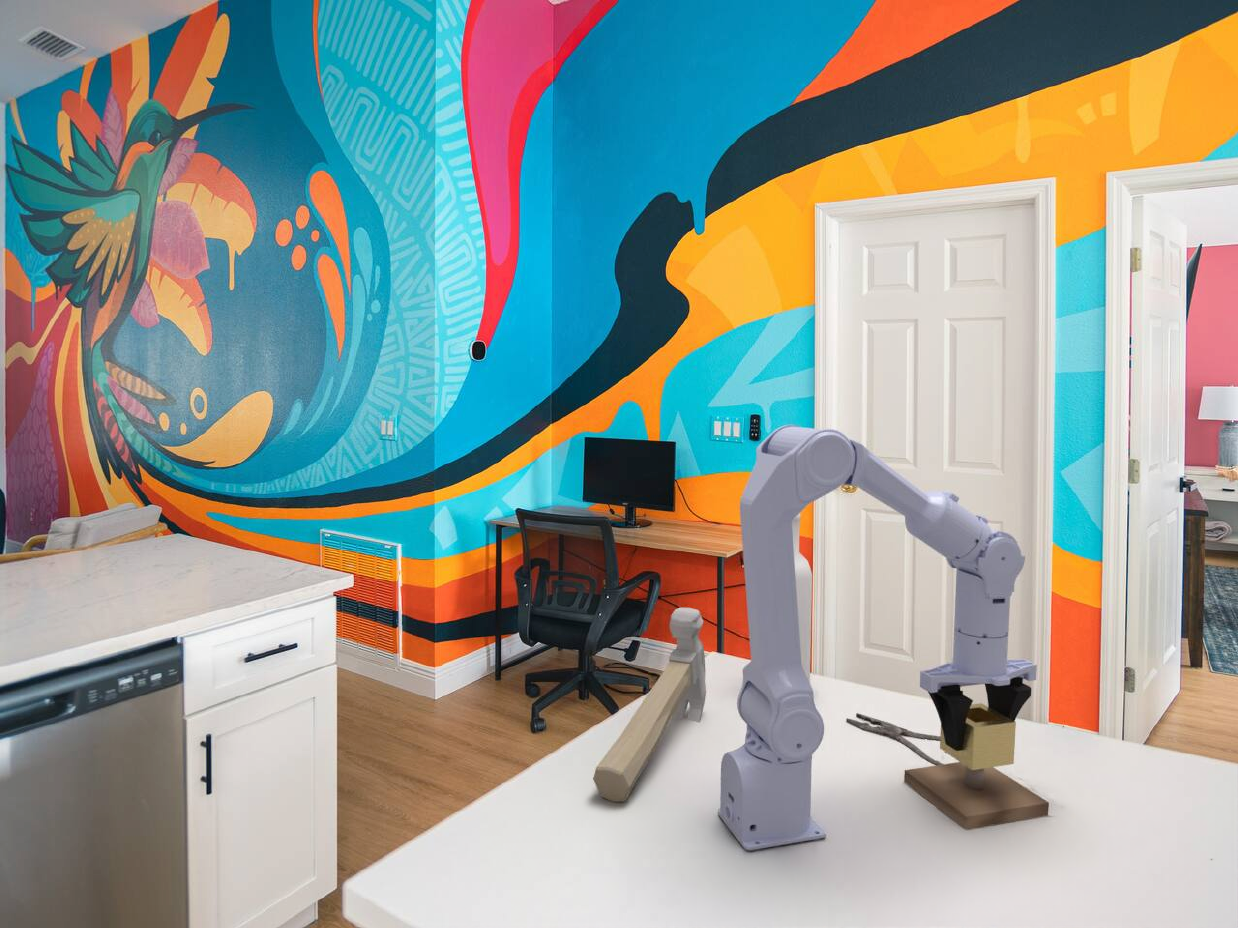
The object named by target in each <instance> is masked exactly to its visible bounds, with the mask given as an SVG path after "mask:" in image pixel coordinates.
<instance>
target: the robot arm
mask: <svg viewBox="0 0 1238 928" xmlns="http://www.w3.org/2000/svg"><path fill="white" fill-rule="evenodd" d="M843 485H844V486H849V487H857V488H858V489H860V490H861V491H863V492H864V493H866V494H868V495H869V496H871V497H873V498H875V499H876V500H878V501H880V502H881V503H883V504H884V505H886V506H888V507H890V508H891V509H892V510H894V511H896V512H897V513H899V514H900V515H902V516H904V520H905V521H904V522H905V523H904V525H905V528H906V530H907V532H908V534H911V535H912V536H913V537H914V538H916V539H918V540H919V541H921V542H922V543H923V544H925V545H927V546H928V547H929V548H930V549H933V550H934V551H936V552H937V553H938V554H940V555H941V556H943V557H944V558H946V562H947V564H948V566H949V567H950V568H951V569H956V571H955V576H956V577H955V600H954V621H953V623H954V625H953V641H952V642H953V643H952V661H949V662H947V663H945V664H942V665H939V666H936V667H932V668H928V669H925V670H920V671H919V687H920V688H921V689H923V690H924V691H926V692H927V693H928V694H929V697H930V699H931V700H932V703H933V704H934V707H935V709H936V712H937V715H938V718H939V721H940V726H941V725H942V729H943V734H944V738H945V744H946V745H948V746H949V747H951V748H952V749H954V750H955V751H961V750H962V747H963V743H964V733H965V723H966V718H967V715H968V712H969V709H970V706H971V704H973V702H974V700H973V699H972V698H971V697H968V696H967V695H965V694H964V691H963V690H961V687H962V688H963V687H968V686H969V687H971V686H978V685H984V687H985V691H986V697H987V705H988V706H987V707H989V708H991V709H993V710H995V711H997V712H998V713H1000V714H1002V715H1004V716H1006V717H1008V718H1009V719H1011V720H1013V721H1015V722H1016V719H1017V716H1018V715H1019V713H1020V711H1021V710H1022V708H1023V707H1024V705H1025V704H1026V702H1027V701H1028V700H1029V699H1030V698H1031V697H1032V687H1031V686H1030V685H1028V684H1026V683H1023V681H1024V680H1026V681H1029V682H1033V681H1037V670H1038V669H1037V668H1038V667H1037V666H1038V665H1037V664H1036V663H1034V662H1032V661H1029V660H1027V659H1025V658H1024V659H1021V658H1020V659H1008V649H1009V648H1008V647H1009V630H1010V628H1009V626H1010V605H1011V597H1012V594H1013V593H1014V592H1015V583H1016V580H1017V577H1018V576H1019V575H1020V574H1021V571H1022V570H1023V568H1024V565H1025V562H1026V555H1023V554H1022V551H1021V548H1020V545H1019V544H1018V542H1017V540H1016V539H1015V537H1014V536H1013V535H1011V534H1009V533H1007V532H1004V531H1001V530H996V529H993V528H991V527H990V526H989V524H988V523H989V519H988V518H986V517H985V516H983V515H980V514H973V513H972V512H970V510H968V509H966V508H965V507H964V506H963V505H961V504H960V503H958V502H959V500H960V497H959V496H958V495H957V494H955V493H953V492H951V491H945V490H944V491H943V492H942V491H940V490H930V491H927V492H923V491H922V490H920V489H919V488H918V487H917V486H915V485H914V484H912V483H911V482H910V481H909V480H907V479H906V478H905V477H904V476H902V475H901V474H900V473H898V472H897V471H896V470H894V469H893V468H892V467H890V466H889V465H888V464H887V463H886V462H884V461H883V460H881V458H880V457H878V456H877V455H875V454H873V452H871V451H870V450H869V449H868V448H867V447H866V446H865V445H864V444H862V443H861V442H858V441H856V440H854V439H851V438H850V439H849V437H847V436H846V435H845V434H844V433H843V432H841V431H839V430H838V429H833V428H812V427H811V428H810V427H802V426H799V425H796V424H786V425H782V426H780V427H778V428H776V429H774V431H772V432H771V433H770V434H769V435H768V436H767V437H766V438H765V439H764V440H763V441H762V442H761V443H760V444H758V446H757V447H756V461H755V463H754V466H753V469H752V470H751V473H750V476H749V478H748V480H747V483H746V484H745V487H744V490H743V492H742V495H741V497H740V500H739V501H740V502H739V515H740V516H739V517H740V519H739V520H740V529H741V542H742V543H741V545H742V555H743V569H744V571H743V572H744V580H745V583H744V585H745V595H746V607H747V611H746V612H747V623H748V637H749V649H750V662H748V663H747V664H746V665H745V666H744V667H743V668H742V684H741V688H740V690H739V693H738V695H737V702H736V707H737V711H738V714H739V717H740V718H741V720H743V722H744V723H745V724H746V733H745V739H744V743H743V744H742V745H741V746H739V747H738V748H736V749H734V750H731V751H728V752H726V753H724V754H723V755H722V759H721V764H720V804H719V805H720V807H719V808H718V809H717V814H718V816H719V817H720V818H721V819H722V822H724V823H725V825H726V826H727V828H728V829H729V830H730V831H731V833H732V834H733V835H734V836H735V838H736V840H737V841H738V842H739V843H740V844H741V846H742V847H743V849H745V851H754V850H760V849H765V848H771V847H777V846H783V845H790V844H794V843H795V844H796V843H801V842H805V841H806V842H807V841H812V840H819V839H824V838H826V836H827V832H826V830H825V829H824V828H822V826H821V825H820V824H819V823H818V822H817V821H816V820H814V818H813V817H812V816H811V802H812V801H811V800H812V767H813V766H812V763H813V762H812V761H813V754H815V752H816V751H817V750H818V749H819V748H820V746H821V743H822V741H823V739H824V735H825V723H824V720H823V717H822V715H821V714H820V711H819V710H818V708H817V707H816V704H815V698H814V697H815V695H814V691H813V690H814V689H813V688H812V685H811V681H810V682H809V680H808V678H807V676H806V674H805V672H804V669H803V667H802V664H801V650H800V636H799V621H798V606H797V591H796V577H795V562H794V547H793V532H792V521H793V519H794V518H795V517H796V516H797V515H798V514H799V513H800V514H801V512H802V511H803V510H804V509H805V508H806V507H807V506H808V505H810V504H812V503H814V502H815V501H817V500H819V499H821V498H822V497H825V496H826V495H828V494H829V493H832V492H833V491H835V490H837V489H838V488H840V487H841V486H843Z"/></svg>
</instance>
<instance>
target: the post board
mask: <svg viewBox="0 0 1238 928" xmlns="http://www.w3.org/2000/svg"><path fill="white" fill-rule="evenodd" d="M903 782H904V783H905V784H906V785H908V786H909V787H910V788H912V789H913V790H914V791H915V792H917V793H918V794H919V795H920V796H922V797H923V798H924V799H926V800H927V801H928V802H929V803H931V804H932V805H933V806H934V807H936V808H937V809H939V810H940V811H941V812H942V813H944V814H945V815H946V816H947V817H949V818H950V819H952V820H953V821H954V822H956V823H957V824H958V825H959V826H961V827H962V828H963V829H964V830H966V831H968V830H973V829H977V828H984V827H989V826H990V827H991V826H994V825H1000V824H1005V823H1011V822H1017V821H1023V819H1024V820H1027V819H1028V820H1029V819H1034V818H1040V817H1046V816H1049V808H1050V807H1049V806H1050V805H1049V804H1050V802H1049V801H1047V800H1046V799H1044V798H1043V797H1041V796H1040V795H1038V794H1037V793H1035V792H1033V791H1032V790H1030V789H1029V788H1027V787H1025V786H1024V785H1022V784H1020V783H1019V782H1017V781H1016V780H1015V779H1013V778H1011V777H1009V776H1008V775H1007V774H1004V772H1001V771H1000V770H998V769H997V768H996V767H990V768H983V769H977V770H971V769H970V768H968V767H967V766H965V765H964V764H962V763H961V762H959V761H957V762H951V763H943V765H930V766H924V767H918V768H912V769H911V768H910V769H905V770H904V781H903Z"/></svg>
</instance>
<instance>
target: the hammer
mask: <svg viewBox="0 0 1238 928" xmlns="http://www.w3.org/2000/svg"><path fill="white" fill-rule="evenodd" d="M703 625H704V619H703V618H702V615H701V612H700V610H699V609H695V608H692V607H679V608H675V610H673V612H672V614H671V615H670V622H669V630H670V632H671V638H674V639H676V647H675V649H673V650H672V651H671V653H670V654H669V656H668V659H669V662H668V663H667V664H666V667H665V669H664V670H663V672H662V673H661V675H660V676H659V677H658V679H657V680H656V682H655V683H654V685H653V686H652V688H651V689H650V691H649V692H648V693H647V694H646V697H645V698H643V700H642V702H641V704H640V705H639V707H638V708H637V710H636V711H635V712H634V714H633V716H632V717H631V719H630V720H629V722H628V723H627V725H626V726H625V728H624V729H623V730H622V732H621V733H620V735H619V736H618V737H617V739H616V741H615V742H614V743H613V745H611V747H610V748H609V750H608V751H607V753H606V754H605V755H604V756H603V757H602V759H601V760H600V762H599V763H598V764H597V765H596V767H595V771H594V774H593V777H592V780H593V783H594V784H595V787H596V789H597V792H598V793H599V796H600V797H603V798H604V799H606V800H607V801H610V802H614V803H620V802H621V803H622V802H626V801H627V799H628V797H630V796H629V795H630V794H631V792H632V790H633V788H634V787H635V785H636V783H637V781H638V780H639V777H640V776H641V774H642V772H643V770H644V769H645V767H646V765H647V763H648V761H650V759H651V757H652V756H653V753H654V752H655V750H656V749H657V746H658V744H659V742H660V740H661V738H662V737H663V734H664V733H665V731H666V729H667V726H668V725H669V723H670V720H672V718H675V719H679V720H683V719H684V718H685V715H686V714H685V713H686V710H687V708H688V706H689V708H688V716H687V721H690V722H695V723H700V722H701V719H702V715H703V711H704V708H705V704H706V698H707V697H706V695H707V686H706V685H707V684H706V661H705V648H704V647H705V646H704V643H703V642H702V640H701V639H700V637H699V633H700V631H701V630H702V627H703Z"/></svg>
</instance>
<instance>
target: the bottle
mask: <svg viewBox="0 0 1238 928" xmlns="http://www.w3.org/2000/svg"><path fill="white" fill-rule="evenodd" d="M801 517H802V515H801V512H800V513H799V514H798V515H797V516H796V517H795V518H794V519H793V521H792V532H793V547H794V562H795V577H796V591H797V606H798V621H799V636H800V650H801V664H802V667H803V669H804V672H805V674H806V676H807V678H808V680H809V682H810V683H811V650H812V649H811V647H812V645H811V642H812V610H813V609H812V605H813V603H812V601H813V573H812V570H811V566H810V564H809V560H807V558H805V557H804V555H802V553H801V552H800V527H801V526H800V523H801V522H800V521H801V519H802V518H801Z"/></svg>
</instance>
